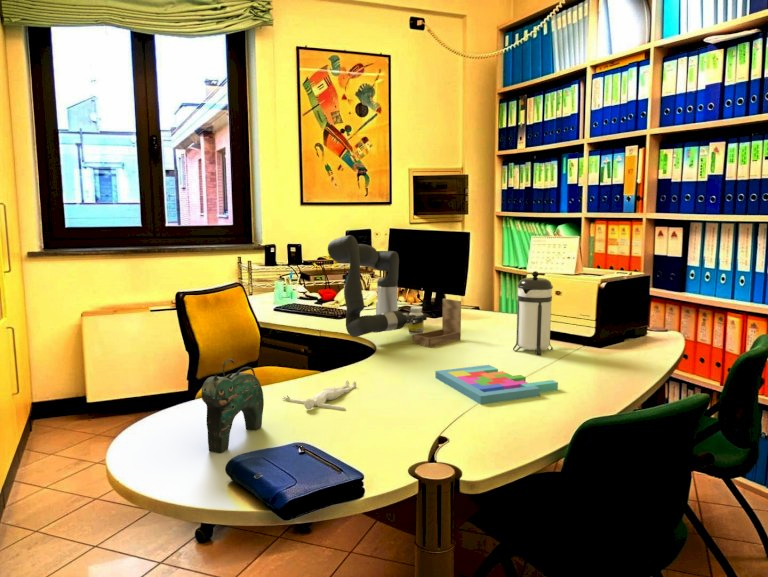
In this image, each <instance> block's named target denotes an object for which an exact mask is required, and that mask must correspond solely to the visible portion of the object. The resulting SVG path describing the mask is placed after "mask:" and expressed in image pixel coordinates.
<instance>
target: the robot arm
mask: <svg viewBox="0 0 768 577" xmlns="http://www.w3.org/2000/svg"><path fill="white" fill-rule="evenodd" d="M327 254H328V256H329V257H330V258H331V260H332V261H334V262H336V263H349V270H348V274H347V278H346V281H345V284H344V288H343V296H344V302H345V308H346V310H345V311H346V312H345V329H346V331H347V333H348V335H349V336H351V337H352V338H358V337H361V336H364V335H367V334H372V333H374V334H375V333H381V332H391V331H396V330H401V329H403V328H404V327H405V325H409V324H413V325H415V324H419V323H423V321H427V320H428V319H427V317H428V316H427V314H423V315H419V316H415V315H409V313H410V312H402V311H401V310H398V282H399V264H400V257H399V254H398V252H397V251H394V250H378V251H377V249H376V248H375V247H374V246H371V245H368V244H364V243H358V240H357V239H356V237H354V235H351V234H349V235H345V236H342V237H338V238H335V239H333V240H330V241H329V243H328V246H327ZM361 267H365V268H373V269H374V270H377V271H380V272H387V275H386V276H384V277H382V278H379V279H378V280H377V282H376V283H377V284H376V285H377V286H376V287H377V290H376V291H377V292H376V293H377V296H376V297H377V300H376V302H375V314H373V315H371V314H370V315H369V314H367V315H361V312H362V311H363V310H364V309H365V302H364V298H363V297H364V296H363V291H362V285H361V284H362V283H361V282H362V281H361ZM412 316H413V318H412Z"/></svg>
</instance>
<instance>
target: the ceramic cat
mask: <svg viewBox="0 0 768 577" xmlns="http://www.w3.org/2000/svg"><path fill="white" fill-rule="evenodd" d="M228 362H231V363H232V364H235V360H234V359H231V358H230V359H229V358H228V359H226V360H225V361H224V362H223V364H222V365H223V366H222V373H223V376H218V375H214V376H210V377H208V378H206V380H205V381H204V382H203V384H202V387H201V400H202V402H203V403H204V404H205V405H206V430H207V445H208V451H209V452H212V453H216V454H223V453H224V452H225V451H226V452H227V450H229V445H230V436H231V435H230V434H231V430H232V427H233V422H234V419H235V418H236V417H237V415H238V414H239V413H240V412H241V413H242V415H243V419H244V426H245V430H248V431H253V432H255V431H258V430H260V429H261V428H262V425H263V413H264V404H265V401H264V392H263V388H262V385H261V382H260V381H259V379H258V377H257V376H256V372H255V370H254V368H253V367H250V366H245V367H241V368H240V369H238V370H237V372H235V373H229V374H227V375H226V374H225V367H226V365H227V364H228ZM243 370H250V371H251V372H252V373H247V372H246V373H245V372H242V371H243Z"/></svg>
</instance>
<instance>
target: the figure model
mask: <svg viewBox="0 0 768 577" xmlns="http://www.w3.org/2000/svg"><path fill="white" fill-rule="evenodd" d="M356 388H357V382H356V381H352V386H350V381H349V380H346V381H345V385H343V386H341V387H327V388H324V389H323V390H322V391H320V392H318V393H317V394H315V395H313V398H310V397H309V398H307V399H305V400H302V399H294V398H293V399H292V398H290V396H288V394H287V395H286V396H285V395H284V396H282V398H281V399H282V400H283V401H286V402H291V403H296V404H302V405H303V406H304V408H305V409H306V410H311V409H313V408H314V407H315V408H316V407H318V408H320V409H322V408H324V409H331V410H338V411H346V410H347V408H346V407H343V406H340V405H335V404H333V405H332V404H329V403H326V402H327V401H334V400H335V399H337V398H338V397H339V396H341V395H343V394H348V393H349V392H351V390H353V389H356Z"/></svg>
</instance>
